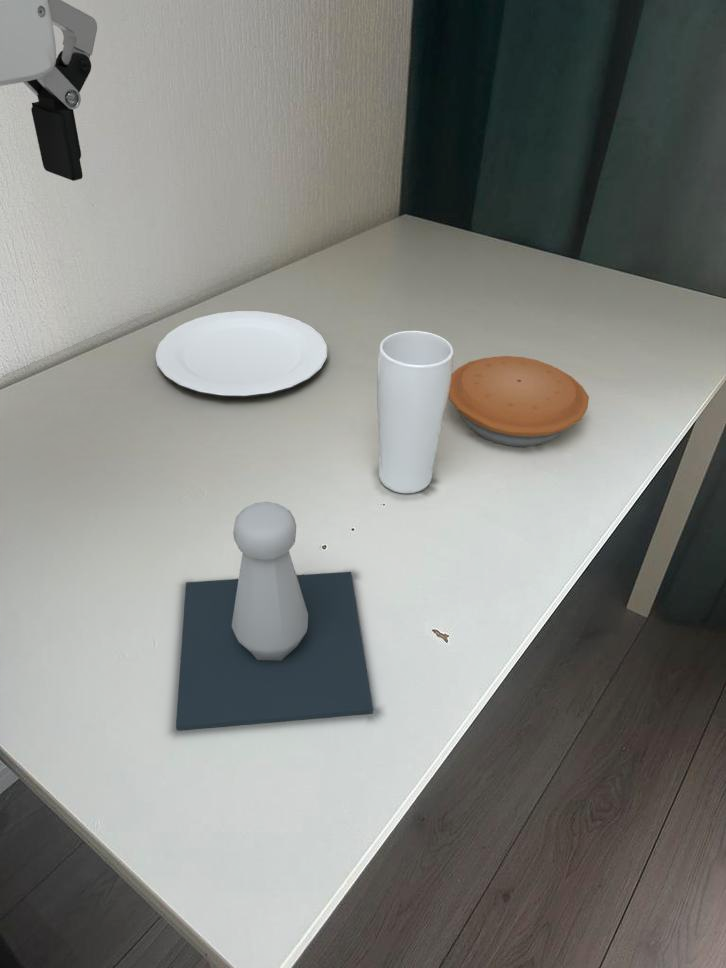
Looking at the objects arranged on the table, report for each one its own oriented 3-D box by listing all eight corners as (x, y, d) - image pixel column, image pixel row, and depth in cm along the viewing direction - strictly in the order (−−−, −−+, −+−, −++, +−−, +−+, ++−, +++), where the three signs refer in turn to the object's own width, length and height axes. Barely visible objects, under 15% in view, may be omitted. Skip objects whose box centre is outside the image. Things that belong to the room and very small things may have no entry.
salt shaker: (306, 672, 58) (303, 547, 50) (229, 670, 58) (215, 544, 50) (310, 613, 63) (308, 490, 55) (239, 612, 63) (227, 487, 55)
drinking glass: (357, 479, 78) (362, 346, 68) (401, 451, 82) (411, 322, 72) (408, 510, 74) (421, 375, 65) (451, 479, 78) (470, 348, 69)
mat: (176, 730, 55) (175, 725, 54) (186, 587, 65) (185, 582, 65) (372, 713, 56) (372, 708, 56) (350, 576, 67) (350, 571, 67)
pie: (463, 372, 95) (468, 335, 92) (590, 400, 91) (600, 363, 88) (426, 438, 84) (430, 399, 81) (569, 474, 80) (579, 434, 77)
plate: (180, 421, 84) (178, 408, 83) (140, 336, 99) (138, 324, 98) (354, 386, 92) (354, 373, 90) (293, 311, 106) (293, 299, 105)
